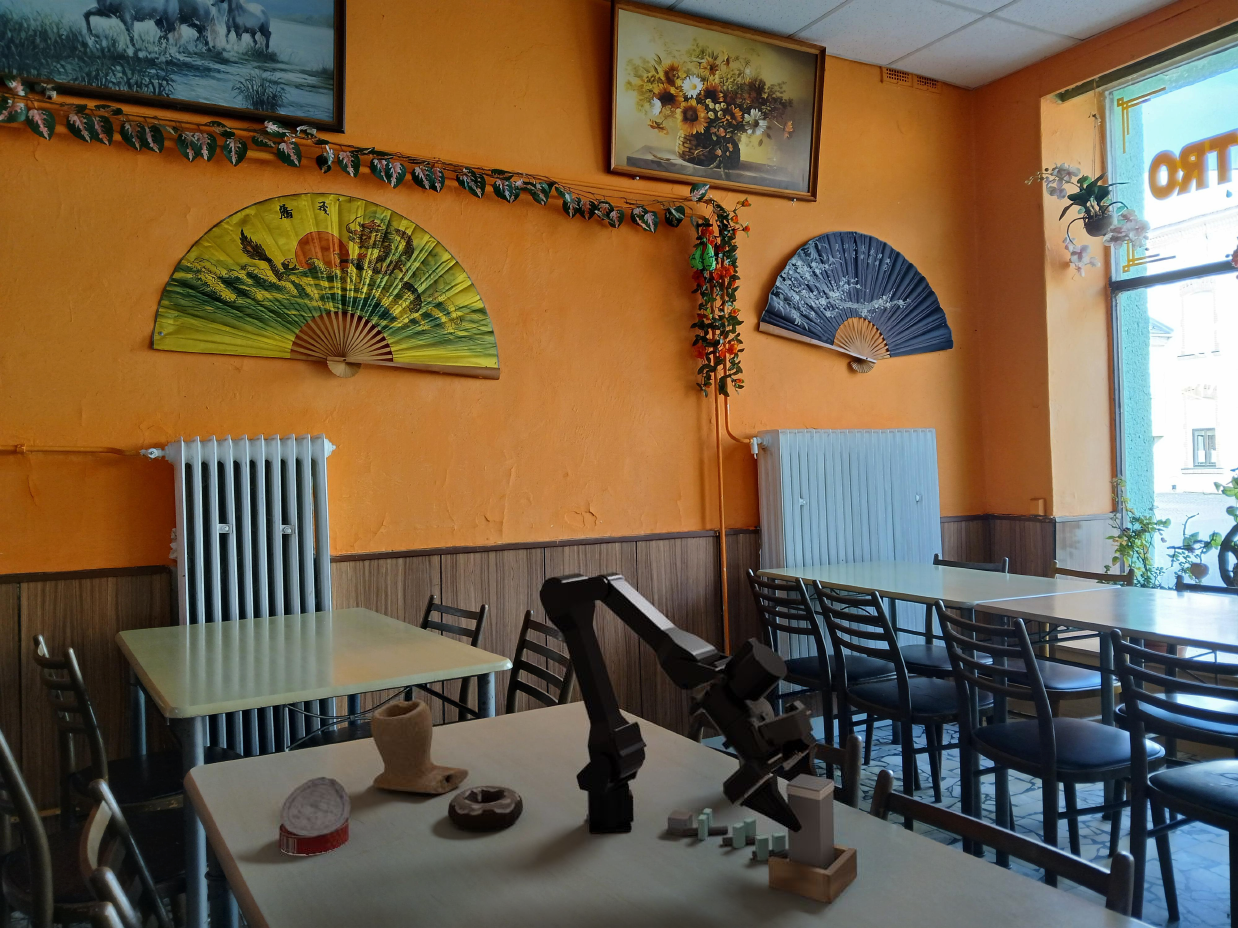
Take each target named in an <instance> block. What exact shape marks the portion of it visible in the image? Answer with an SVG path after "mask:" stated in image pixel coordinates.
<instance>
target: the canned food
mask: <svg viewBox="0 0 1238 928" xmlns="http://www.w3.org/2000/svg"><path fill="white" fill-rule="evenodd" d="M284 799H285V800H284V802H283V805H282V807H281V809H280V819H281V823H280V825H279V827H278V831H279V834H278V835H279V838H278V839H279V841H278V842H279V847H280V848H281V849H282V850H283V851H285V852H287V853H292V854H306V855H309V854H316V853H322V852H327V851H329V850H333V849H335V848H338V847H340V846H341V845H343V844H344V845H345V844H346V843H345V842H347V843H348V841H349V839H348V838H350V835H349V834H350V830H349V829H350V828H349V827H350V824H349V820H350V818H349V814H350V811H351V809H352V807H351V801H350V796H349V795H348V793H347V791H346V790H345V787H344V786H343V785H342V784H341V783H340V782H339V781H337V780H336V779H334V778H329V777H325V776H320V777H315V778H311V779H308V780H307V781H306V782H304V783H302V784H301V785H299V786H297V787H296V788H295V789H293V791H292V792H291V793H290V794H289V795H288V796H287V797H286V798H284ZM347 840H348V841H347ZM344 845H343V846H344ZM341 847H342V846H341ZM341 847H340V848H341ZM280 848H279V849H280ZM338 849H339V848H338ZM333 851H334V850H333Z"/></svg>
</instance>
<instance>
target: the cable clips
mask: <svg viewBox="0 0 1238 928" xmlns="http://www.w3.org/2000/svg"><path fill="white" fill-rule="evenodd" d="M712 826H713V809H712V808H706V807H705V808H704V810H703V811H702V814H700V815H699V817H698V818H697V827H698V835H697V837H698V839H697V840H702V841H703V840H704V841H705V840H706V839H707V837H708V836H709V834H708V827H712ZM752 835H757V820H756V818H754V817H748V818H746V819H745V820H743V823H741V822H738V823H735V824H733V825H732V837H733V844H732V847H733V848H735V849H738V850H739V849H741V848H743V847H744V846H746V843H745V836H752ZM759 835H760V836H755V843H754V847H755V848H754V851H756V852H757V858H755V859H756V860H757V861H766V860H769V850H770V846H769V845H770V843H769V842H770V841H769V840H770V838H769V836H768V835H767V834H759ZM786 839H787V838H786V834H785V833H784V832H782V831H781V832H774V833H771V850H772V849H774V850H775V852H778V851H781V850H785V849H787V848H786V847H787V844H786V841H787V840H786ZM777 858H780V857H777Z"/></svg>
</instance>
